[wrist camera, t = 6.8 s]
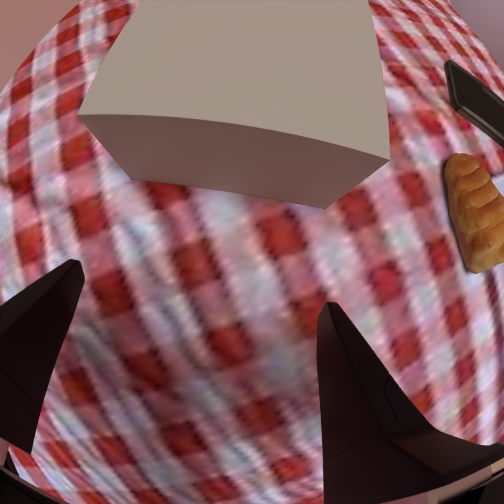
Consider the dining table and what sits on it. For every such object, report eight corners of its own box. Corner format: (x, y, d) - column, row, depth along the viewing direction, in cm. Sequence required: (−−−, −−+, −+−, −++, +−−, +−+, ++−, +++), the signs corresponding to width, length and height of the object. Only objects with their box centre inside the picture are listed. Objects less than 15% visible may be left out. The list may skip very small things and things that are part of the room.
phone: (535, 172, 20) (455, 105, 19) (529, 174, 21) (449, 110, 20) (524, 121, 21) (446, 55, 20) (519, 124, 22) (441, 60, 21)
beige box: (324, 209, 17) (390, 160, 10) (132, 180, 17) (77, 114, 9) (330, 53, 19) (363, -16, 11) (186, 31, 18) (179, -43, 10)
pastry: (421, 168, 19) (452, 149, 15) (464, 152, 19) (491, 136, 16) (464, 281, 18) (499, 279, 14) (501, 248, 19) (531, 243, 15)
